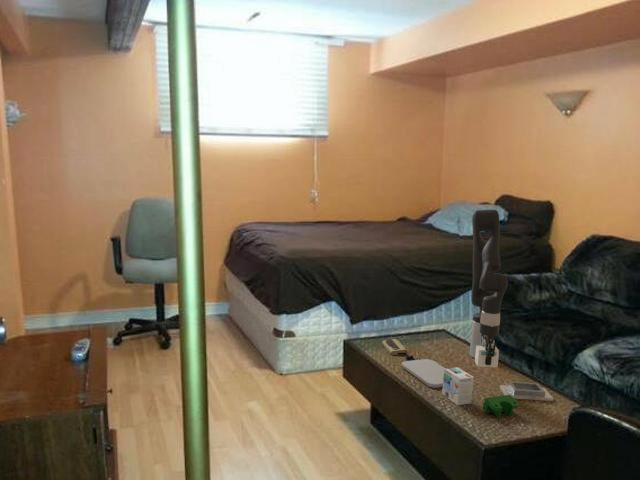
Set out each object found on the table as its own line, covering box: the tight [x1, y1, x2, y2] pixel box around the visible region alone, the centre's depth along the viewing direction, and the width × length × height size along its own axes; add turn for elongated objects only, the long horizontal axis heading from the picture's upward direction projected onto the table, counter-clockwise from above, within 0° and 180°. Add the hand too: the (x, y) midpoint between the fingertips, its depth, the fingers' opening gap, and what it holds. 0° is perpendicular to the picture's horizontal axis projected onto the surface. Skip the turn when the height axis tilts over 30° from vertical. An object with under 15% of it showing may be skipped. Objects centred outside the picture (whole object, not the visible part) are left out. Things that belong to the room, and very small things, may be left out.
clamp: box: [482, 394, 520, 419], centre depth 203 cm, size 12×6×9 cm, turn 105°
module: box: [474, 345, 500, 368], centre depth 225 cm, size 5×8×7 cm, turn 87°
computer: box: [381, 338, 408, 356], centre depth 268 cm, size 16×8×3 cm, turn 9°
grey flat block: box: [499, 380, 554, 402], centre depth 222 cm, size 10×18×3 cm, turn 87°
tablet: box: [401, 358, 447, 389], centre depth 237 cm, size 16×26×2 cm, turn 21°
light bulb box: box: [441, 366, 475, 406], centre depth 214 cm, size 11×7×11 cm, turn 22°
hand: (486, 362), depth 225 cm, fingers closed on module, 5 cm apart
